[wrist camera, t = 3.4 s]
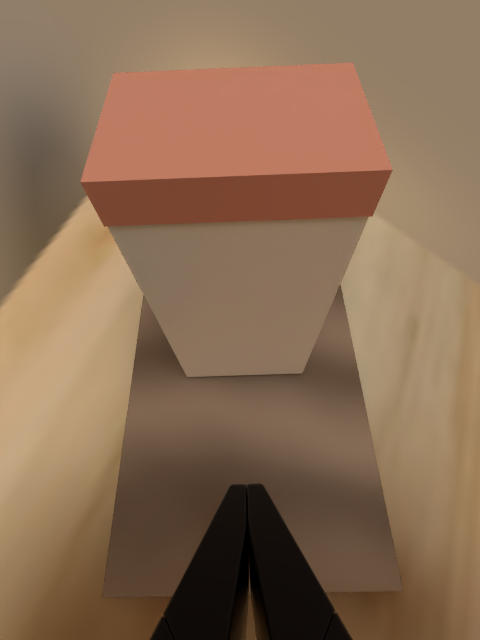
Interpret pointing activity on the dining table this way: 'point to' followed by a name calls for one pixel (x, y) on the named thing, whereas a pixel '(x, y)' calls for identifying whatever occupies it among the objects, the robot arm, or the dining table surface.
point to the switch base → (249, 464)
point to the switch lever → (238, 203)
